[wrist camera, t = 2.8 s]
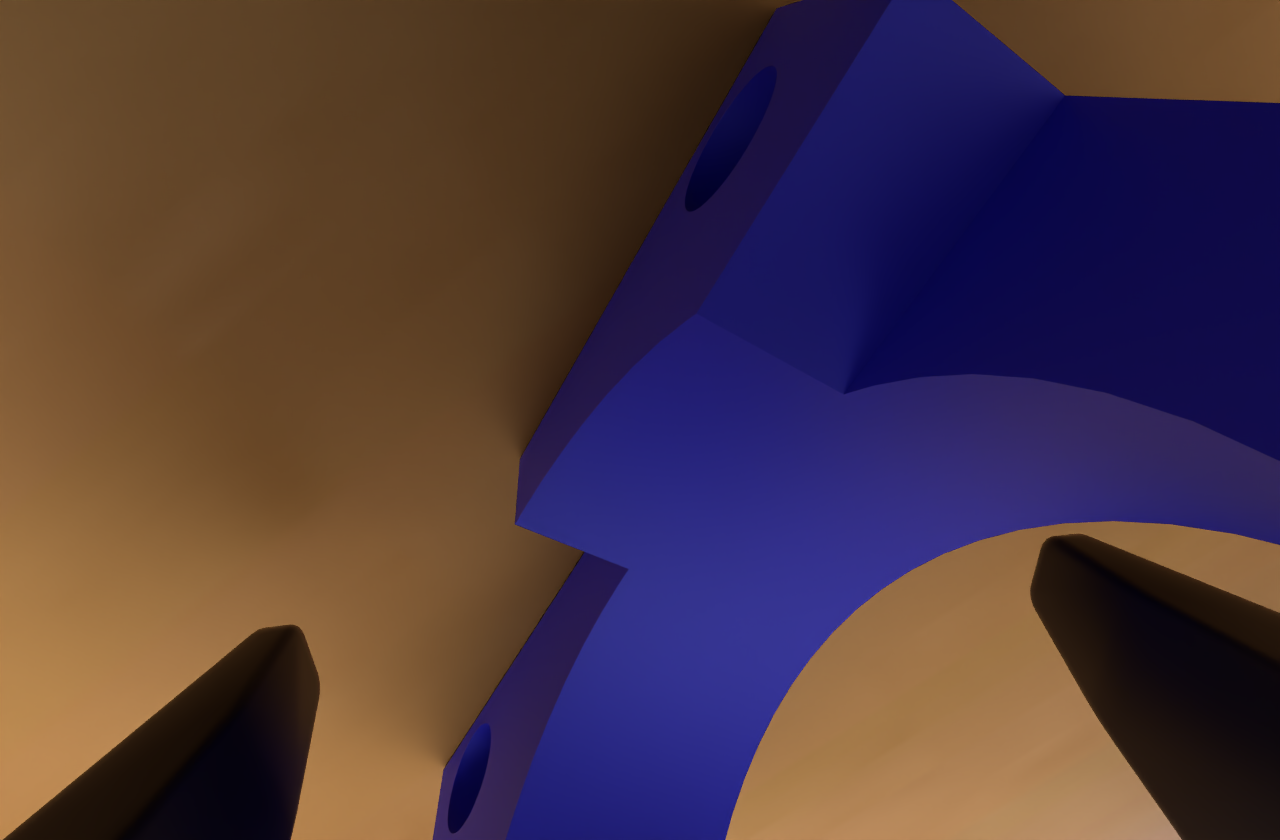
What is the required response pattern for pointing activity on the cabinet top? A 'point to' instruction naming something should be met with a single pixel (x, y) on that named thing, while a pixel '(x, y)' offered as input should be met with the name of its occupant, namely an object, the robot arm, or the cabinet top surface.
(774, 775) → the cabinet top surface
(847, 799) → the cabinet top surface
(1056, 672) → the cabinet top surface
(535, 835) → the cable clip
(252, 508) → the cabinet top surface
